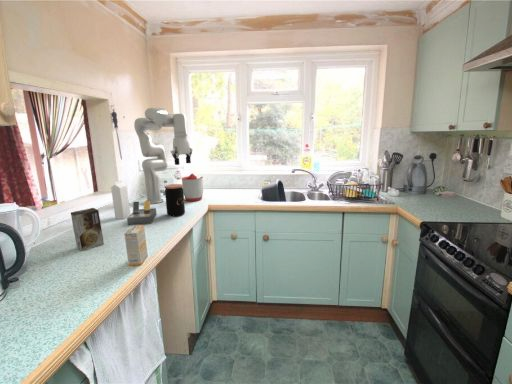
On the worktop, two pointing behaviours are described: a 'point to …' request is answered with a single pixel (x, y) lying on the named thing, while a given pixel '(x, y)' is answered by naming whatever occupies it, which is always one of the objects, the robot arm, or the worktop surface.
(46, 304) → the worktop surface
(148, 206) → the paddle amber
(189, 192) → the citrus juicer
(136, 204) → the paddle black
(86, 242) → the coffee box
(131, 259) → the supplement box
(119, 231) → the worktop surface
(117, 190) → the milk
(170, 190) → the coffee jar
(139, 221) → the switch panel
